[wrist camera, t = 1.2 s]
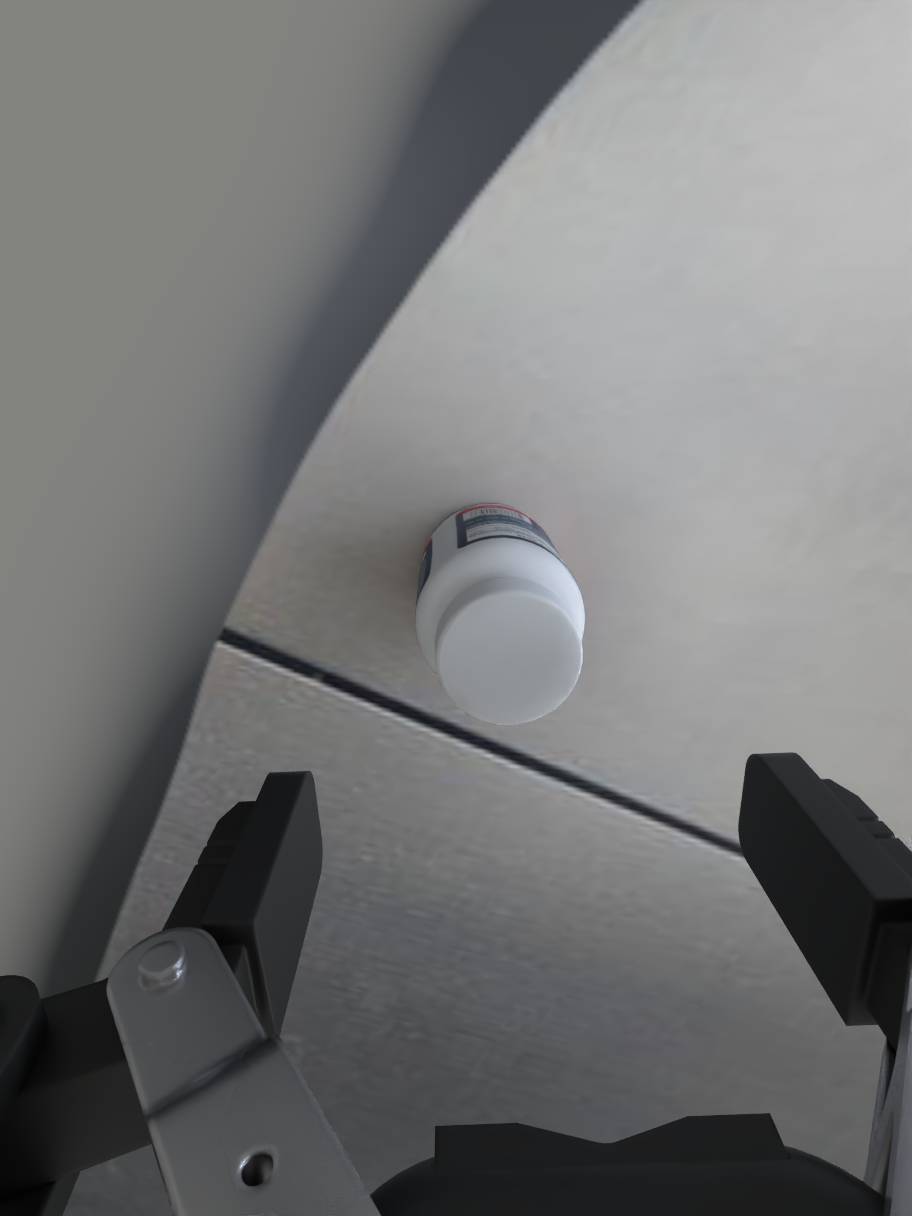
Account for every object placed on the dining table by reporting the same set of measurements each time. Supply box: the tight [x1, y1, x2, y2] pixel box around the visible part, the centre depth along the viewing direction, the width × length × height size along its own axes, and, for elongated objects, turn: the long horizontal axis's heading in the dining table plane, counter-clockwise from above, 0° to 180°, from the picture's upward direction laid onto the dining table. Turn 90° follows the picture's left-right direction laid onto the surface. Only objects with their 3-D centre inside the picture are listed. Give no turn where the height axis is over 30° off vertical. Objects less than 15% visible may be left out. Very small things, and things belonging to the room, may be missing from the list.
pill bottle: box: [415, 504, 585, 725], centre depth 22 cm, size 5×5×9 cm
